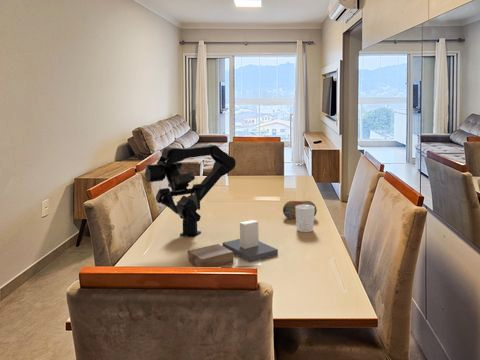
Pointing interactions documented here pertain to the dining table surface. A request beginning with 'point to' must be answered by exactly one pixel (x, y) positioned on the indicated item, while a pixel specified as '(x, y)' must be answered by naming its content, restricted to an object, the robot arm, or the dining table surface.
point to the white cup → (305, 217)
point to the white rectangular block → (249, 234)
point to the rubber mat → (251, 250)
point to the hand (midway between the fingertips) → (188, 211)
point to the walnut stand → (210, 256)
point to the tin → (290, 208)
